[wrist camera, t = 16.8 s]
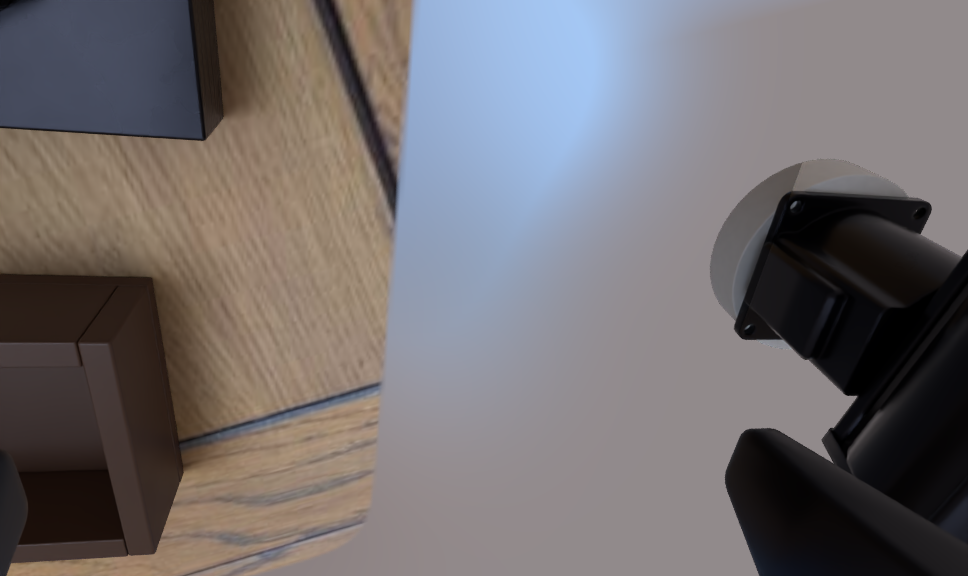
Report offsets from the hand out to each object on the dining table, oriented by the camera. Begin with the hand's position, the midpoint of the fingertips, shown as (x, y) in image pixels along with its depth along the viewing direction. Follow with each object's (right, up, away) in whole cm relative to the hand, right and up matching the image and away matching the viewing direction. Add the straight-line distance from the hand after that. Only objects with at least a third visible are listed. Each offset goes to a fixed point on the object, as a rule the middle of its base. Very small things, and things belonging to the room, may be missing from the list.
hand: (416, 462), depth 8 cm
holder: (-14, -1, +12) cm, 18 cm away
